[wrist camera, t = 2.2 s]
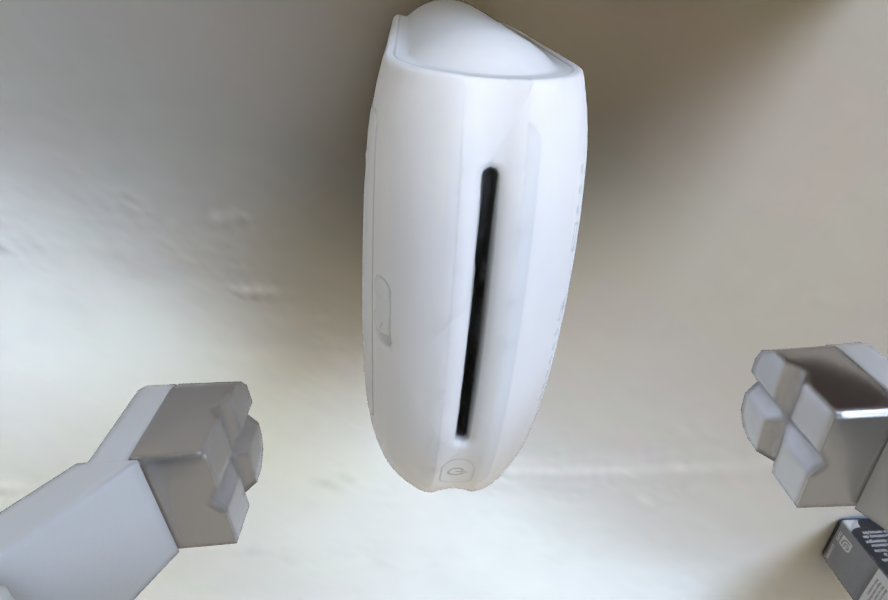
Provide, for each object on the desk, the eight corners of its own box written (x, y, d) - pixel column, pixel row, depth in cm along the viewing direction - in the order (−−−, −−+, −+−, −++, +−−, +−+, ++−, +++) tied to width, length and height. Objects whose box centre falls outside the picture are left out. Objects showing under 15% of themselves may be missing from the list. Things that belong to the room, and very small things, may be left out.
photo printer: (482, 281, 23) (547, 542, 12) (380, 277, 23) (356, 543, 12) (516, 4, 18) (674, 47, 7) (384, -7, 18) (346, 24, 7)
